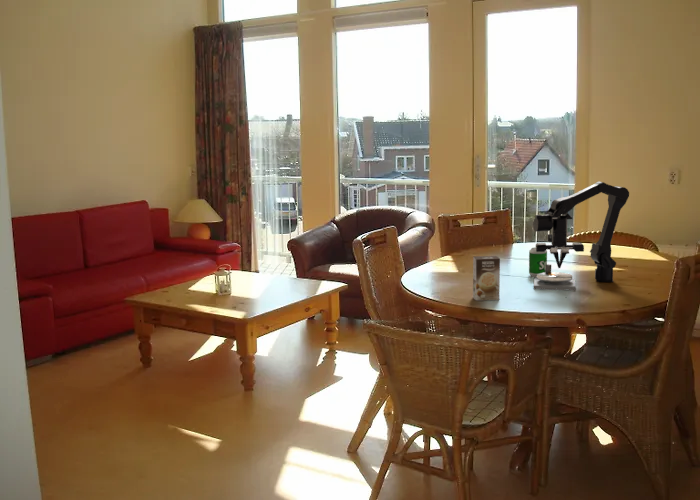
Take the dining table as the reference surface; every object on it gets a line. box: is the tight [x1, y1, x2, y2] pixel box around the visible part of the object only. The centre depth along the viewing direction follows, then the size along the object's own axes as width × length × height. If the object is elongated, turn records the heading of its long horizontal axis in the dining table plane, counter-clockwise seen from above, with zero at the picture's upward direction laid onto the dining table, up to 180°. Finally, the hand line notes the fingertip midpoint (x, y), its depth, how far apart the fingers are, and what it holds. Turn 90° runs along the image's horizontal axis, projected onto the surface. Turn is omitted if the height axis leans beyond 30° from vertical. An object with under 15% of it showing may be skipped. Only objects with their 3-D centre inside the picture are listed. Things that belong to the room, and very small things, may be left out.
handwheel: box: [536, 263, 573, 282], centre depth 302 cm, size 14×14×5 cm
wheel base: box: [533, 277, 576, 291], centre depth 303 cm, size 16×15×3 cm
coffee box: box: [472, 255, 501, 301], centre depth 283 cm, size 9×6×16 cm
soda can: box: [528, 247, 548, 278], centre depth 322 cm, size 8×8×12 cm
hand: (559, 267), depth 306 cm, fingers closed
